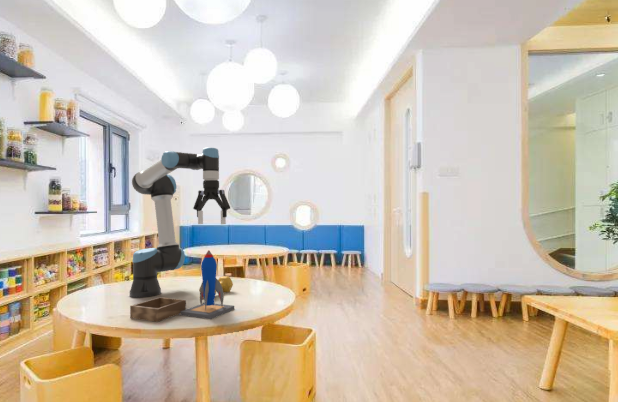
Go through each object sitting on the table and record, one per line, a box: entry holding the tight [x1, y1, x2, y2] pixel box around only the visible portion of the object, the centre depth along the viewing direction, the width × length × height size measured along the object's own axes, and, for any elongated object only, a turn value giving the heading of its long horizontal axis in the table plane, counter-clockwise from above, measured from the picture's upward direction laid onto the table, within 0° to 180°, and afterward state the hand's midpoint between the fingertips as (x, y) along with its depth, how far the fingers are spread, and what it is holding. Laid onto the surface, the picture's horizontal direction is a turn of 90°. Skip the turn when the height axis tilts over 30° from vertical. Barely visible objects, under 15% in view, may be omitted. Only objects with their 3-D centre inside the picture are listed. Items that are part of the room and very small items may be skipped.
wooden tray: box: [129, 296, 187, 323], centre depth 165 cm, size 15×16×5 cm
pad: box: [179, 302, 235, 320], centre depth 168 cm, size 16×16×2 cm
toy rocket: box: [199, 250, 224, 310], centre depth 169 cm, size 11×10×25 cm
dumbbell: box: [198, 275, 234, 299], centre depth 200 cm, size 19×9×8 cm, turn 158°
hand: (211, 224), depth 188 cm, fingers open, 13 cm apart
